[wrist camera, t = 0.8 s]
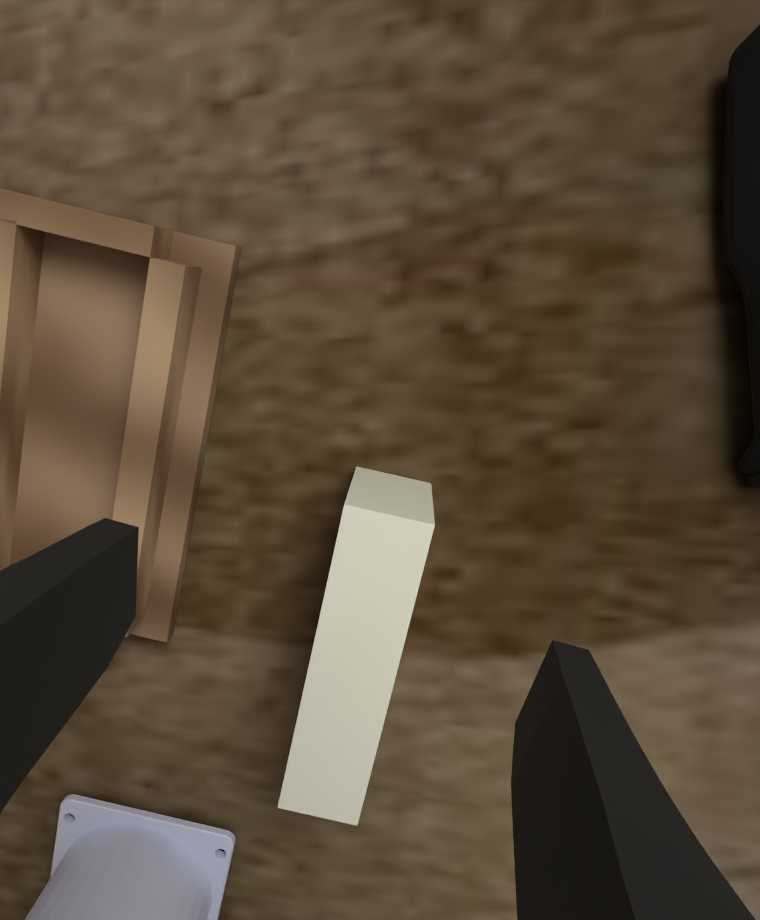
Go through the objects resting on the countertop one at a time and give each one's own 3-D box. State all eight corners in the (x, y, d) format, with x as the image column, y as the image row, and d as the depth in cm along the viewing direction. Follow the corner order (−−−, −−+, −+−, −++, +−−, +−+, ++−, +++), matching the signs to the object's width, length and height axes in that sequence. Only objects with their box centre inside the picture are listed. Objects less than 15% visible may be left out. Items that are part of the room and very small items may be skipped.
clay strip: (366, 737, 30) (357, 825, 25) (299, 723, 30) (277, 807, 25) (430, 482, 27) (434, 525, 22) (356, 465, 27) (344, 504, 22)
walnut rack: (173, 632, 29) (149, 666, 26) (-36, 583, 28) (-79, 611, 26) (241, 247, 25) (221, 242, 22) (-1, 187, 24) (-49, 176, 22)
